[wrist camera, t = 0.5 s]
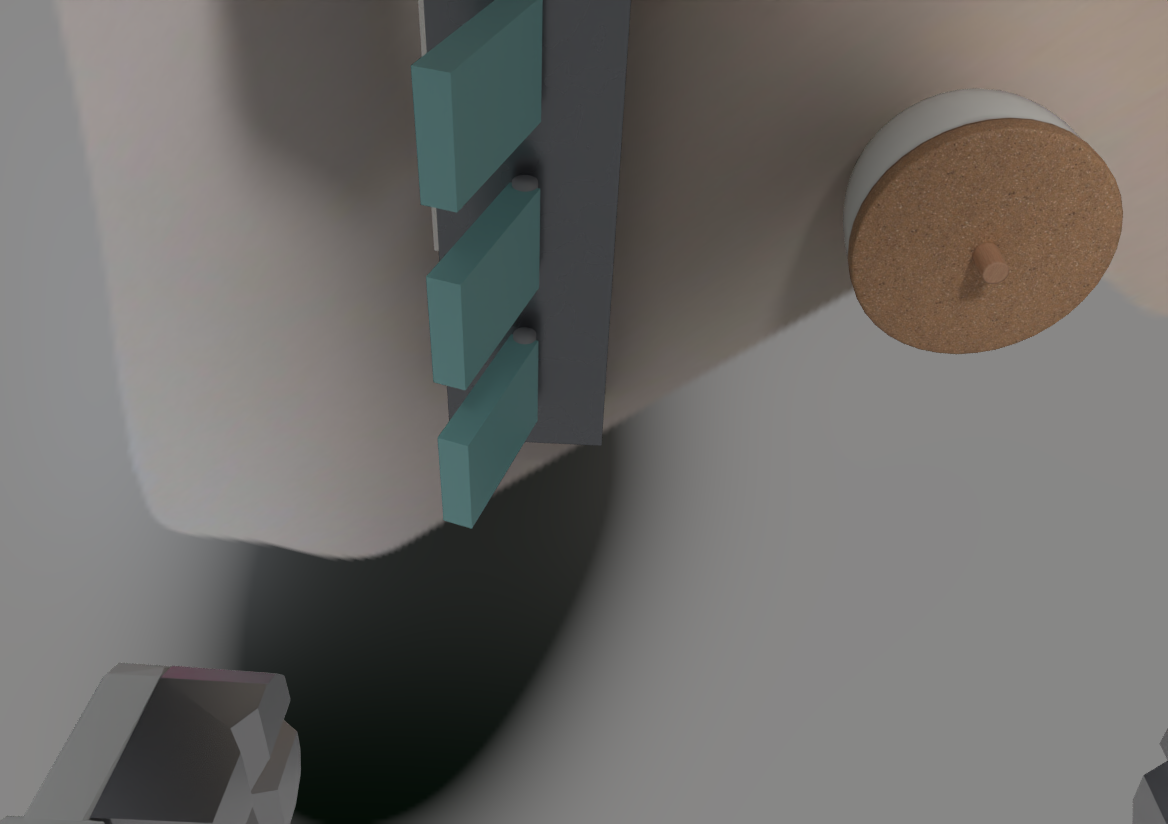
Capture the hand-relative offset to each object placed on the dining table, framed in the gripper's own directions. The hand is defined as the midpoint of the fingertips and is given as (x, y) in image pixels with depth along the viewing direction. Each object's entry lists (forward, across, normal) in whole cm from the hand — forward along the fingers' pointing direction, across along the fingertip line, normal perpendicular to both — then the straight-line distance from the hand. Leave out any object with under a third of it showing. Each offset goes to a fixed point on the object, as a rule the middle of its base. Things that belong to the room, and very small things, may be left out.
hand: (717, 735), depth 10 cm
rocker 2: (+36, +5, +11) cm, 38 cm away
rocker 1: (+35, +5, +3) cm, 35 cm away
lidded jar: (+41, -14, +9) cm, 44 cm away
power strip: (+40, +5, +10) cm, 42 cm away
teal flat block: (+36, +6, +19) cm, 42 cm away
